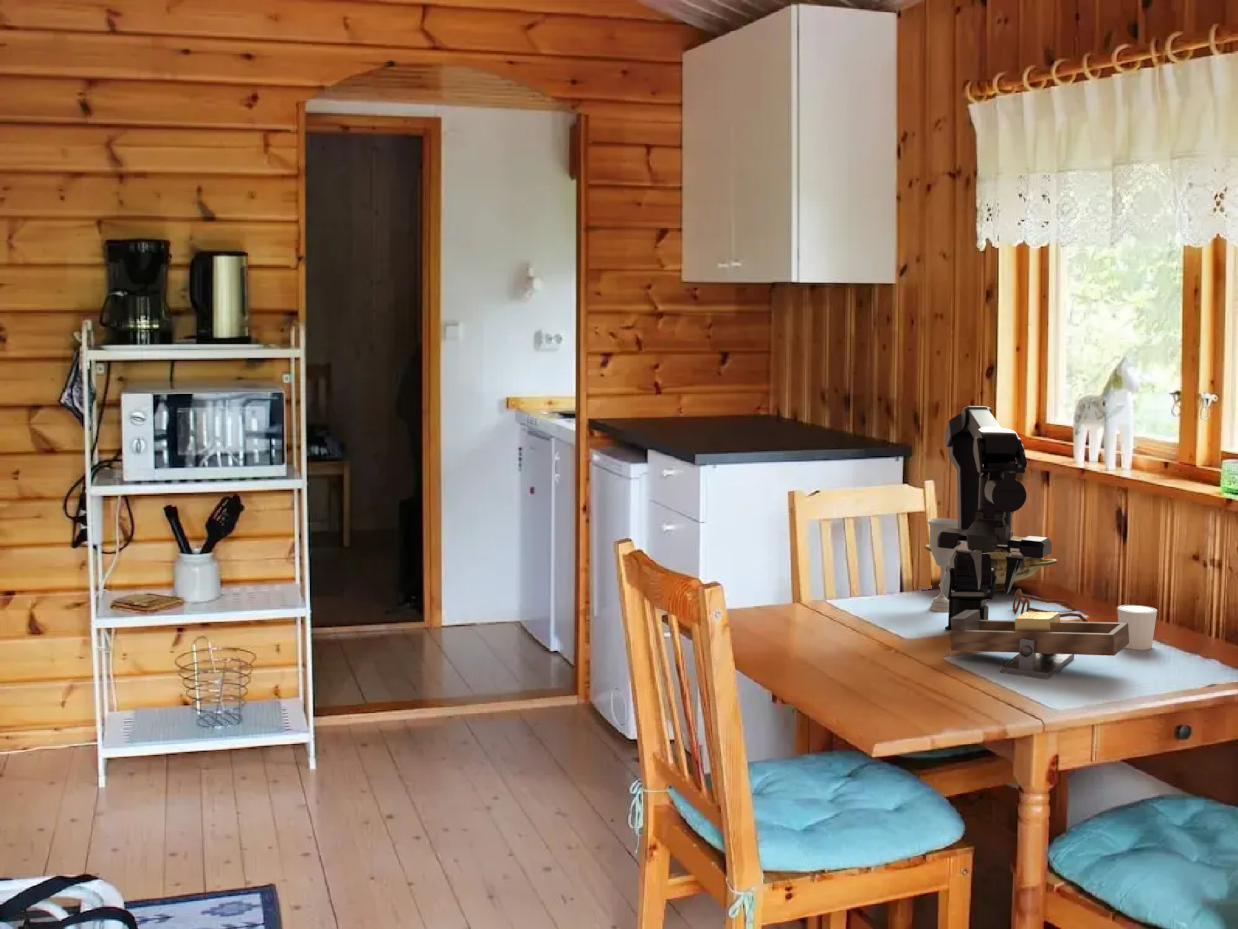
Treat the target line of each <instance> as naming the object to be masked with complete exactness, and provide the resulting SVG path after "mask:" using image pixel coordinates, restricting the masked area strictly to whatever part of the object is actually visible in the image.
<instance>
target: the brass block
mask: <svg viewBox="0 0 1238 929" xmlns="http://www.w3.org/2000/svg"><path fill="white" fill-rule="evenodd" d="M1060 614H1061V613H1060V612H1059V611H1056V612H1055V611H1054V612H1053V611H1049V612H1033V611H1029V612H1026V611H1024V612H1023V614H1021V613H1020V614H1019V615H1018V616H1016V617H1015V618H1014V621H1015V630H1016V631H1028V632H1061V625H1060V621H1061V617H1060Z"/></svg>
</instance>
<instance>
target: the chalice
mask: <svg viewBox="0 0 1238 929" xmlns="http://www.w3.org/2000/svg"><path fill="white" fill-rule="evenodd" d="M927 523H928V525H929V539H928V540H929V541H928V542H929V543H928V545H930V548H931V552H930V553H931V554H932V557H933V559H934V561H935V564H936V565H937V566H938V567H940V574H939V578H940V583H939V584H938V587H939V590H940V592H939V594H938V595H937V596H935V597H934V598H933V599H932V602H931V603H930V604H931V605H930V606H929V610H931V611H934V612H940V613H949V600H948V599H947V598H946V597H945V596H944V594H943V583H944V579H945V576H946V571H945V570H946V567H947V566H950V559H951V557H952V555H953V554H954V552H955V550H956V549H957V547H956V548H954V549H948V548H939V547H937V539H938V535H939V533H940V532H942V531H944V530H946V529H949V528H956V529H958V518H957V519H956V518H949V517H948V518H947V517H934V518H929V519H927Z"/></svg>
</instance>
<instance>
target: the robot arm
mask: <svg viewBox="0 0 1238 929" xmlns="http://www.w3.org/2000/svg"><path fill="white" fill-rule="evenodd" d="M992 410H993V409H992V408H991V407H989V406H985V405H966V406H965V407H962V409H961V411H960V413H958V414H956V415H955V416H954V417H952V418H951V419H949V420H948V422H947V425H946V428H945V430H944V445H945V448H947V455H948V459H949V461H951V463H952V464H953V466H954V468H955V469H956V491H957V492H956V495H957V496H956V497H957V498H956V500H957V504H956V505H957V520H958V529H956V528H949V529H946V530H944V531H942V532H940V533H939V535H938V539H937V547H939V548H948V549H954V548H956V547H957V549H956V550H955V552H954V554H953V555H952V557H951V559H950V568H948V569H947V572H946V571H945V572H946V576H945V579H944V583H943V594H944V596H945V597H946V598H947V599H948V600H949V612H948V617H947V618H948V621H947V622H948V623H947V625H946V626H944V630H945V631H950V630H951V618H952V617H954V616H956V615H958V614H959V613H961V612H963V611H965V610H980V620H989V608H990V607H989V606H988V605H987V601H993V599H994V597H995V591H994V588H995V584H996V580H997V576H996V575H995V573H994V569H993V568H991V557H990V555H989V553H987V552H993V551H995V550H996V548H999V549H1009V550H1010V552H1011V555H1009V556H1007V557H1006V561H1007V570H1006V578H1005V583H1004V585H1005V590H1004V593H1005V594H1008V593H1009V592H1010V591H1011V589H1012V586H1013V584H1014V582H1013V581H1014V579H1015V577H1016V575H1017V572H1018V570H1019V568H1020V567H1021V565H1022V563H1023V562H1024V560H1026V559H1028V558H1030V557H1032V558H1041V559H1045V557H1047V556H1050V555H1051V554H1052V548H1053V547H1052V546H1053V544H1052V541H1051V540H1050V539H1051V538H1049V537H1045V536H1044V537H1043V536H1035V535H1027V536H1026V537H1023V538H1024V539H1022V540H1016V539H1011V537H1013V536H1014V531H1013V530H1012V524H1013V523H1012V522H1013V515H1014V514H1015V513H1014V512H1017V511H1018V510H1020V509H1021V508H1022V507H1023V506H1024V505H1025V502H1026V500H1027V491H1026V488H1025V486H1024V485H1023V483H1021V482H1020V481H1019V480H1018V479H1017V474H1025V473H1026V468H1027V465H1028V461H1027V457H1026V456H1027V455H1026V452H1025V447H1024V444H1023V443H1022V438H1020V437H1019V435H1018V433H1017V432H1016V431H1015V430H1013V429H1010V428H1003V427H1001V426H1000V424H999V423H998V421H997V420H996V418H995V417H994V416H993V411H992ZM952 590H953V591H952Z"/></svg>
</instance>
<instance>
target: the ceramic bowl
mask: <svg viewBox="0 0 1238 929" xmlns="http://www.w3.org/2000/svg"><path fill="white" fill-rule="evenodd" d="M1024 538H1025V537H1023V536H1016V535H1015V536H1014V535H1013V537H1011V539H1016V540H1022V539H1024ZM924 549H925V550H927V552H930V553H932V552H931V548H930V545H929V544H925V545H924ZM987 553H989V555H990V557H991V568H993V569H994V573H995V575H996V576H997V580H996V584H995V588H994V592H999V591H1000V592H1001V591H1005V578H1006V570H1007V561H1006V557H1007V556H1009V555H1011V552H1010V550H1009V549H999V548H996V550H995V551H993V552H987ZM1057 562H1058V559H1056V558H1032V557H1030V558H1028V559H1026V560H1024V562H1023V563H1022V565H1021V567H1020V568H1019V570H1018V572H1017V575H1016V577H1015V579H1014V581H1013V583H1014V582H1015V583H1016V582H1018V581H1021V580H1025V579H1026V578H1029V577H1031V576H1033V575H1034V574H1035V573H1037V571H1039V569H1040V568H1041V567H1051V566H1053V565H1056V564H1057ZM948 568H950V566H947V567H946V570H945V572H947V569H948Z"/></svg>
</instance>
